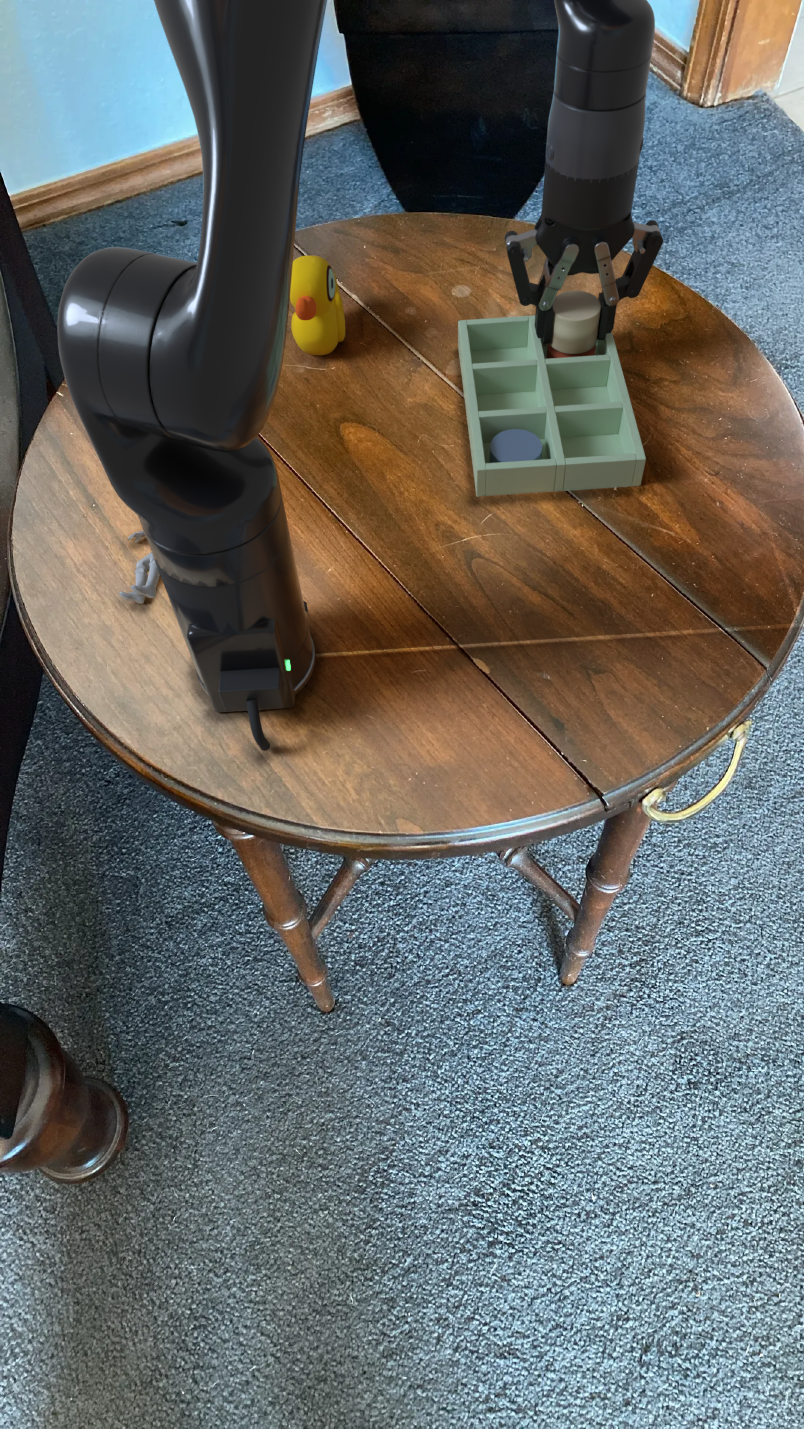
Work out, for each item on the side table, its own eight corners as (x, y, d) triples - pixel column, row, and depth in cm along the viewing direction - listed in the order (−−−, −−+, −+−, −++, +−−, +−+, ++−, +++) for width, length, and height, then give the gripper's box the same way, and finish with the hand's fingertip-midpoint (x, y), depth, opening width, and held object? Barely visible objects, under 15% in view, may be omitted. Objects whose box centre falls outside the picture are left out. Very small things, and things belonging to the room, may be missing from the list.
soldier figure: (103, 604, 82) (134, 477, 85) (156, 622, 85) (184, 499, 88) (139, 584, 76) (172, 448, 79) (195, 605, 79) (224, 473, 82)
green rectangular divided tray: (601, 342, 97) (606, 309, 94) (639, 490, 85) (646, 458, 82) (458, 352, 97) (458, 319, 94) (476, 501, 86) (477, 470, 83)
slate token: (543, 479, 86) (545, 462, 84) (491, 483, 86) (492, 465, 84) (537, 444, 88) (539, 427, 87) (487, 447, 88) (487, 430, 87)
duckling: (339, 384, 95) (328, 291, 87) (286, 383, 96) (270, 290, 88) (354, 314, 102) (345, 221, 93) (304, 313, 102) (290, 221, 94)
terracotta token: (596, 376, 93) (599, 358, 92) (549, 380, 93) (550, 362, 92) (589, 347, 96) (591, 329, 94) (543, 350, 96) (544, 332, 94)
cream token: (600, 352, 91) (605, 318, 88) (551, 355, 91) (554, 321, 88) (592, 322, 94) (597, 288, 91) (545, 326, 94) (548, 291, 91)
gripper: (672, 121, 80) (640, 307, 94) (499, 133, 80) (493, 318, 94) (691, 168, 76) (655, 356, 90) (509, 181, 76) (501, 366, 90)
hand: (572, 335), depth 92 cm, fingers closed on cream token, 4 cm apart
